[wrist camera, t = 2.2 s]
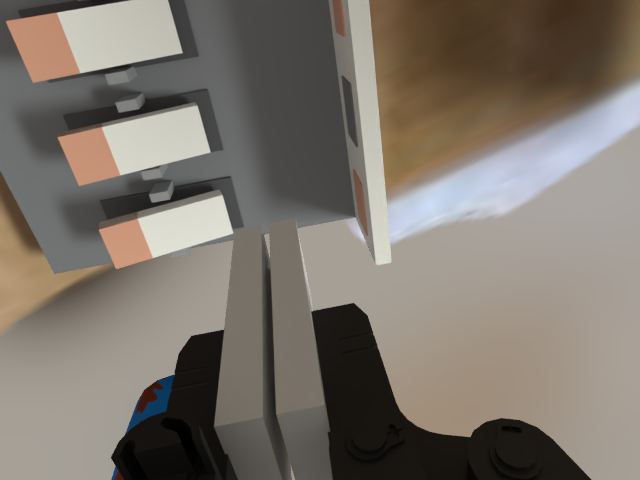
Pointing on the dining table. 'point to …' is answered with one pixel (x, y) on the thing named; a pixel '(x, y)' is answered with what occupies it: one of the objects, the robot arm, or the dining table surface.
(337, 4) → the switch unit
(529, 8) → the dining table surface
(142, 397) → the thermos
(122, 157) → the switch
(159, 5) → the switch
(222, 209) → the switch
